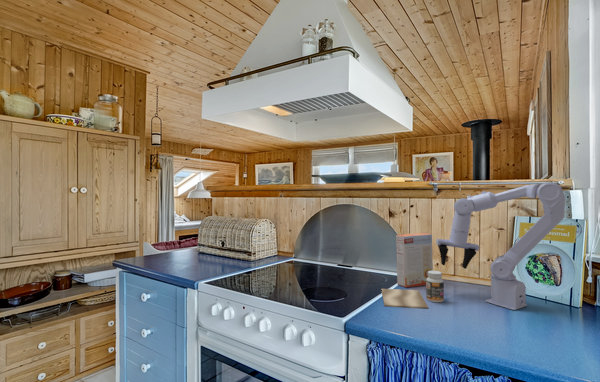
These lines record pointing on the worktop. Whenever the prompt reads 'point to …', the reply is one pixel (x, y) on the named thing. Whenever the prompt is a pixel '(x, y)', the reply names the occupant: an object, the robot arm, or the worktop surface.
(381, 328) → the worktop surface
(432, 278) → the pill bottle
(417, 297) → the beige flat rectangular panel
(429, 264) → the cracker box
